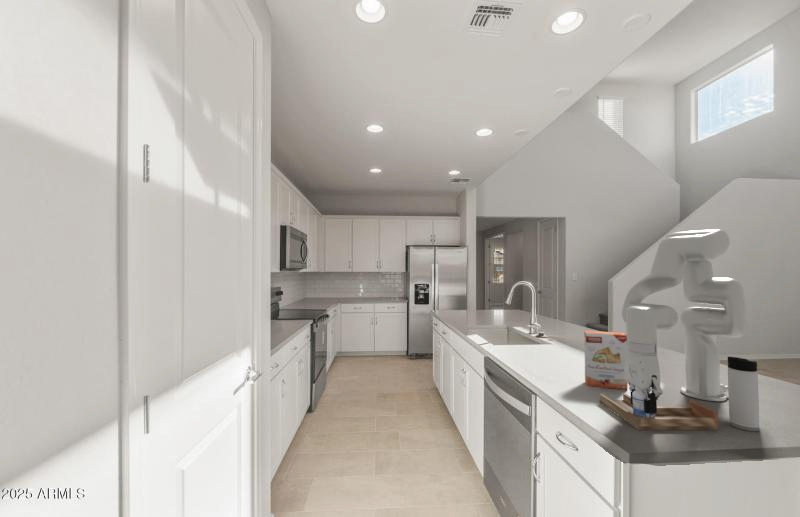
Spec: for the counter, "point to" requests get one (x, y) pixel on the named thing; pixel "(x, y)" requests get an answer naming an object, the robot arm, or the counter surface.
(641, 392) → the pill bottle
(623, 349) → the cracker box
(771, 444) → the counter surface
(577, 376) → the counter surface
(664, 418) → the channel track
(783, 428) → the counter surface
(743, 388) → the travel mug
